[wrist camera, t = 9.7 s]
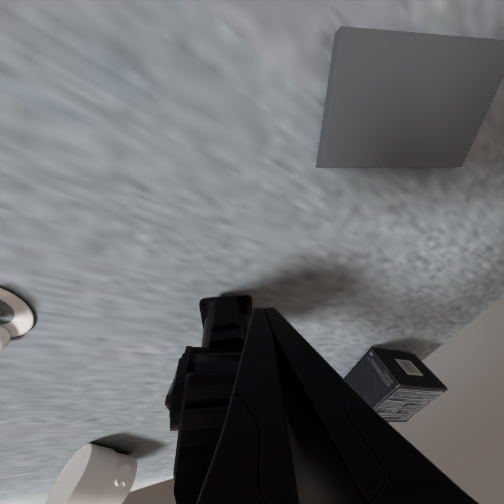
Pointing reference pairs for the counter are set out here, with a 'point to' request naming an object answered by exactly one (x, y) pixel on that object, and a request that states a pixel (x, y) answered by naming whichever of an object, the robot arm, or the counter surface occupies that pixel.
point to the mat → (406, 98)
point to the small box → (394, 383)
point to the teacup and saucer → (22, 319)
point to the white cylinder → (94, 477)
